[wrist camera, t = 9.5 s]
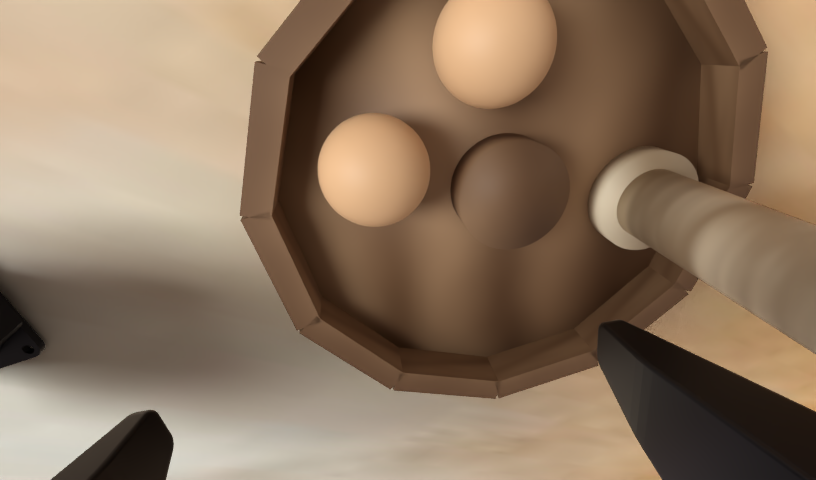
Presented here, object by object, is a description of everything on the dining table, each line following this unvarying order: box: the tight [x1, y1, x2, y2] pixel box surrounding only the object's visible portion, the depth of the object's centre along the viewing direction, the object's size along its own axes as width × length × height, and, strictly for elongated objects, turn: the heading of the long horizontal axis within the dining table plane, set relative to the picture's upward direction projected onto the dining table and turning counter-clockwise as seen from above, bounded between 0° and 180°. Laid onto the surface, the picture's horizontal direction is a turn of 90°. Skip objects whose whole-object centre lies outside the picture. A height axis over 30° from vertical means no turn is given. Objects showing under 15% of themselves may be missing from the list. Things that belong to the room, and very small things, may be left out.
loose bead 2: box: [432, 0, 557, 109], centre depth 15 cm, size 4×4×4 cm
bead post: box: [588, 146, 816, 354], centre depth 15 cm, size 5×5×15 cm
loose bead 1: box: [318, 113, 430, 227], centre depth 16 cm, size 4×4×4 cm
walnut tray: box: [240, 0, 768, 399], centre depth 19 cm, size 22×22×3 cm
